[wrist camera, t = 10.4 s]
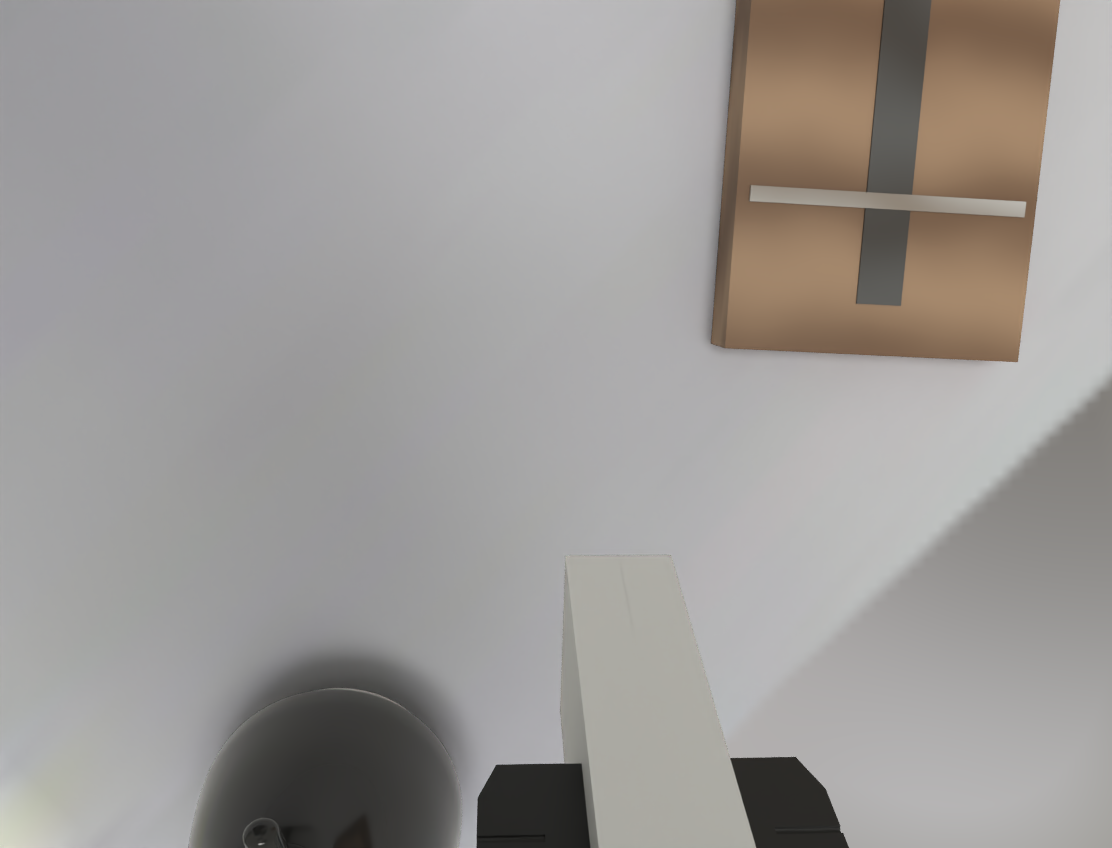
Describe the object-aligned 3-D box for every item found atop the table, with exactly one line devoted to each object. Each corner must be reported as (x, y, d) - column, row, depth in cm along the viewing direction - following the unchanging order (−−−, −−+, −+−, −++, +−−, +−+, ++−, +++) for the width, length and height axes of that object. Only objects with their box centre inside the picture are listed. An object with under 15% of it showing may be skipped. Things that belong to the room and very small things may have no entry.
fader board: (987, 356, 44) (1020, 362, 42) (710, 343, 44) (726, 348, 41) (1056, -252, 41) (1096, -289, 38) (757, -282, 40) (776, -320, 37)
